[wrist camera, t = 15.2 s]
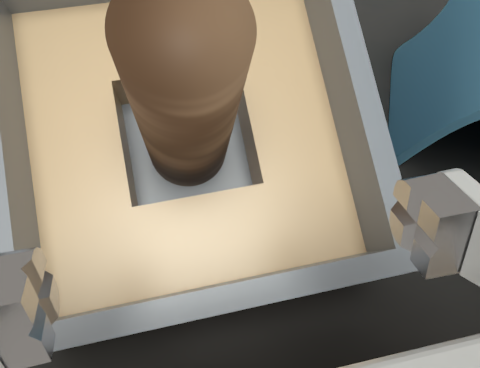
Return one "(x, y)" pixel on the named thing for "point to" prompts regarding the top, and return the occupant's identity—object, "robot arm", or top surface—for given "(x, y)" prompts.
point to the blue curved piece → (436, 80)
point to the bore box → (200, 196)
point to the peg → (183, 77)
